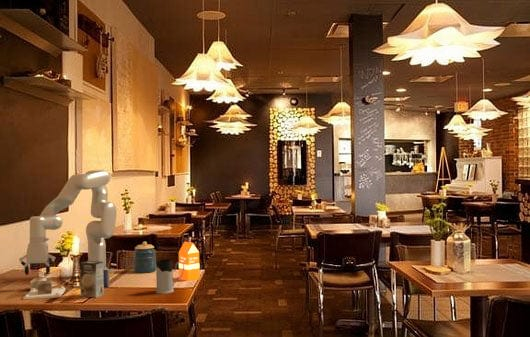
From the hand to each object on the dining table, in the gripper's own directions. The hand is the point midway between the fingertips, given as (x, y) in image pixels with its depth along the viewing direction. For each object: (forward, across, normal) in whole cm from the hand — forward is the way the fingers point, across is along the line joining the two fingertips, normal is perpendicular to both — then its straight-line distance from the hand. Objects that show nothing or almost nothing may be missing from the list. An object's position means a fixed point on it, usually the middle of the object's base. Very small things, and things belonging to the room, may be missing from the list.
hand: (37, 274), depth 271 cm
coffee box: (+8, -30, +23) cm, 39 cm away
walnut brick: (+7, -7, +14) cm, 17 cm away
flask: (+7, -32, +2) cm, 33 cm away
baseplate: (+8, -7, +14) cm, 18 cm away
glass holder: (+7, -66, +24) cm, 71 cm away
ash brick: (+8, -1, 0) cm, 8 cm away
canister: (+6, -53, -34) cm, 63 cm away
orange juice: (+6, -77, -3) cm, 77 cm away
